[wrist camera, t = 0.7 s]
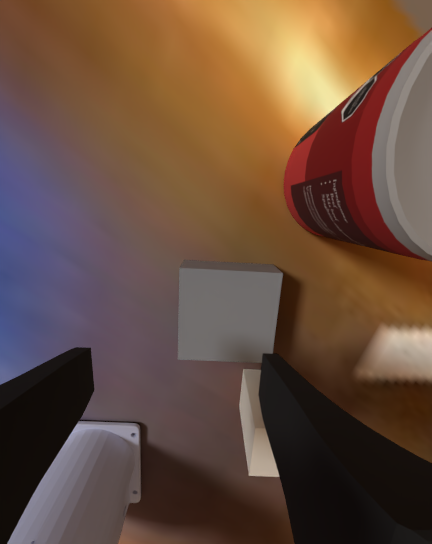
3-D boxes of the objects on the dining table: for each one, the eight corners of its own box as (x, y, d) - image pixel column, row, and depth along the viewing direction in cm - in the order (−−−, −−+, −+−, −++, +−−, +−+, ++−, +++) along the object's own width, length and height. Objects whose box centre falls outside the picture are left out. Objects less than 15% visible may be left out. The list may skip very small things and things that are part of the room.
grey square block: (263, 342, 21) (271, 363, 18) (182, 338, 21) (177, 359, 18) (272, 263, 19) (283, 273, 16) (184, 259, 19) (179, 267, 16)
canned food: (396, 122, 17) (728, -36, 6) (372, 238, 19) (589, 275, 8) (286, 115, 16) (426, -61, 6) (274, 233, 18) (361, 265, 8)
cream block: (282, 408, 22) (306, 477, 17) (239, 406, 22) (249, 475, 16) (288, 370, 21) (316, 430, 16) (243, 368, 21) (255, 428, 15)
